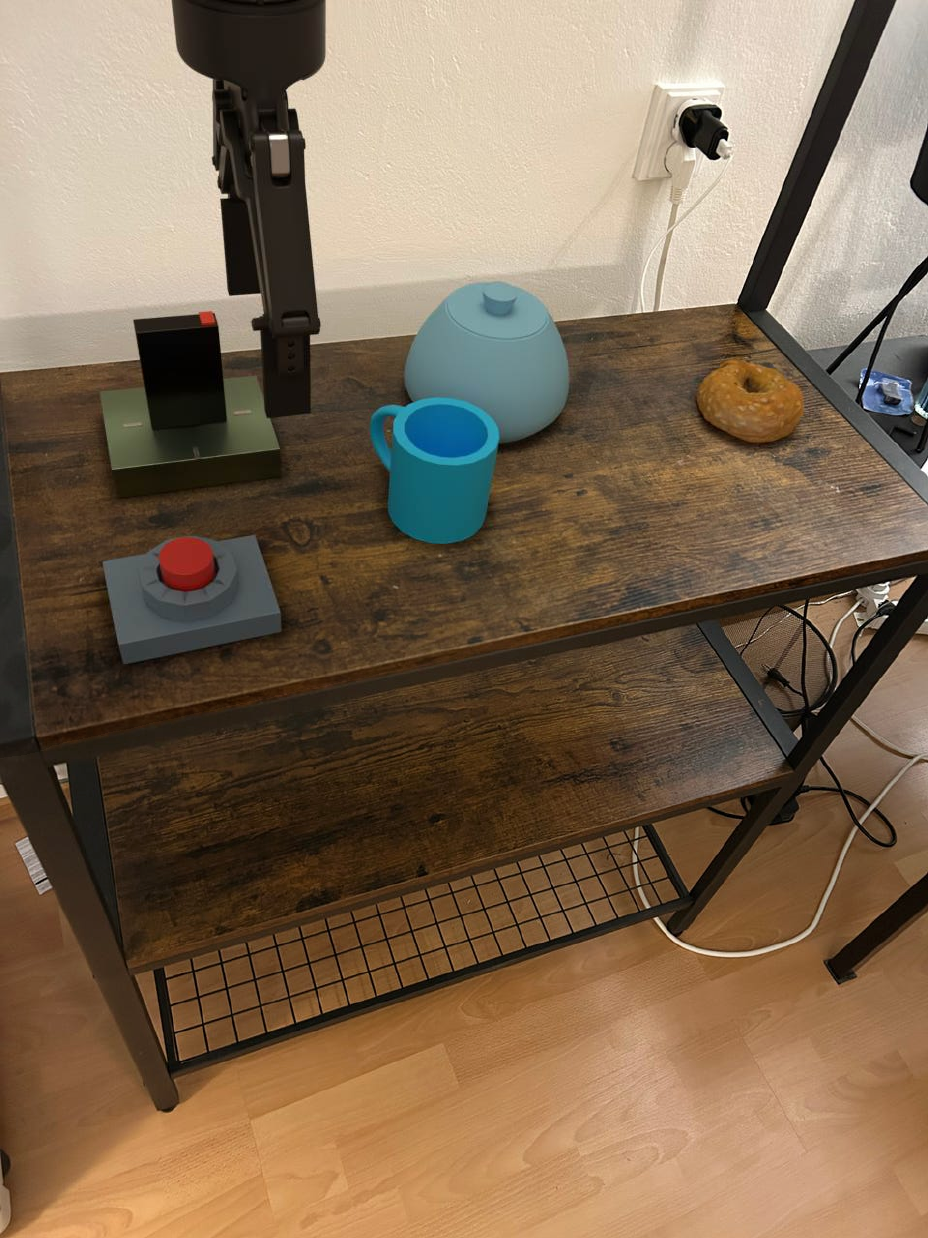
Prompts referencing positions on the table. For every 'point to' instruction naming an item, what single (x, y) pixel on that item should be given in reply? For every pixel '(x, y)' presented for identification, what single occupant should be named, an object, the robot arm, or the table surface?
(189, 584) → the button
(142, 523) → the table surface
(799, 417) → the bagel
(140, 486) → the dial panel
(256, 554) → the button housing
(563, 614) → the table surface
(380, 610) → the table surface
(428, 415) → the mug
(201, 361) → the black slab
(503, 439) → the sugar bowl
